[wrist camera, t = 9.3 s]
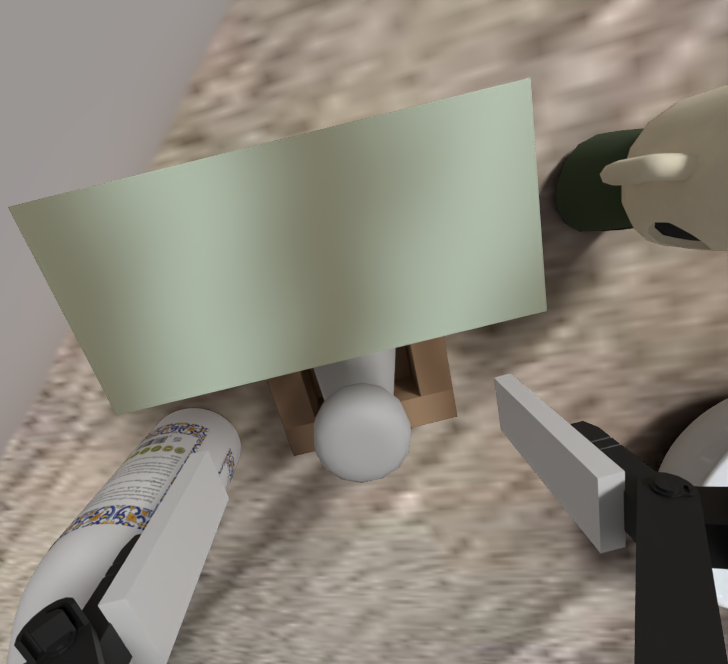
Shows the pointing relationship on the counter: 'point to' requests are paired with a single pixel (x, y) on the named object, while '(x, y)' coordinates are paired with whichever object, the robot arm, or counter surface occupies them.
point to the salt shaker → (361, 418)
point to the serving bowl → (704, 465)
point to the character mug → (656, 177)
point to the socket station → (304, 257)
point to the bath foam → (124, 510)
